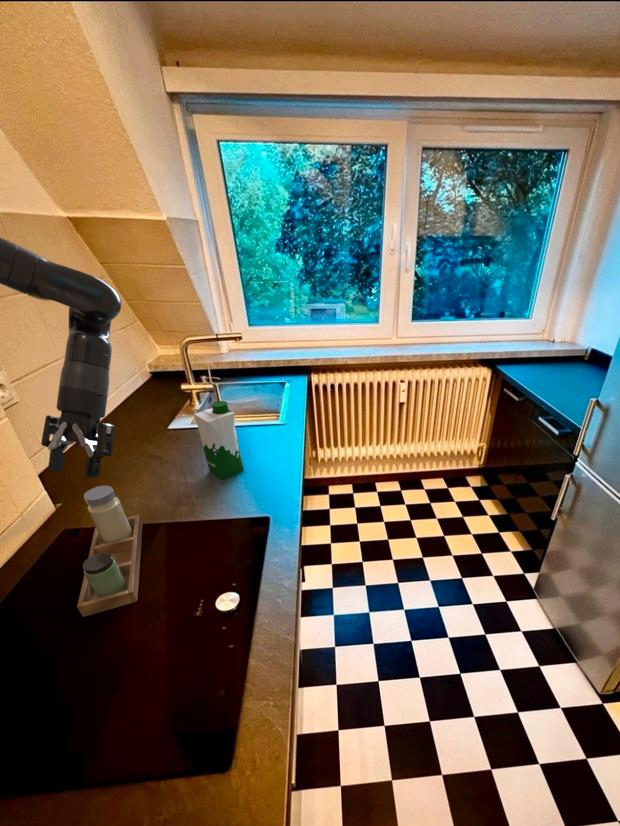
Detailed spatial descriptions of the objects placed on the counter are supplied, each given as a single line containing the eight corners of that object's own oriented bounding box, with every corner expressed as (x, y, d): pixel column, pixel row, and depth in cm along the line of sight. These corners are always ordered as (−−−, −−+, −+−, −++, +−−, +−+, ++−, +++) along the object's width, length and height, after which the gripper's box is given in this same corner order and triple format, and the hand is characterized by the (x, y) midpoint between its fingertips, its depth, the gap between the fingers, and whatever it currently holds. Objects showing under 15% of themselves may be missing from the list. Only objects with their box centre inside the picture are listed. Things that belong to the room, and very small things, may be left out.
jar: (111, 552, 83) (88, 504, 76) (100, 541, 86) (77, 493, 79) (139, 538, 87) (119, 491, 80) (127, 528, 90) (107, 481, 83)
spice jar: (104, 606, 71) (87, 575, 67) (93, 592, 74) (76, 562, 70) (132, 589, 74) (117, 559, 70) (120, 577, 77) (106, 547, 73)
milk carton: (248, 470, 113) (236, 405, 102) (220, 482, 107) (204, 415, 96) (232, 459, 118) (219, 397, 107) (204, 471, 112) (187, 406, 101)
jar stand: (84, 618, 70) (76, 607, 68) (101, 535, 89) (95, 524, 87) (138, 603, 72) (132, 591, 71) (143, 525, 92) (139, 514, 90)
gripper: (34, 381, 71) (23, 468, 71) (96, 388, 68) (84, 479, 68) (73, 391, 78) (63, 469, 79) (131, 397, 75) (120, 479, 75)
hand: (73, 474), depth 73 cm, fingers open, 8 cm apart
